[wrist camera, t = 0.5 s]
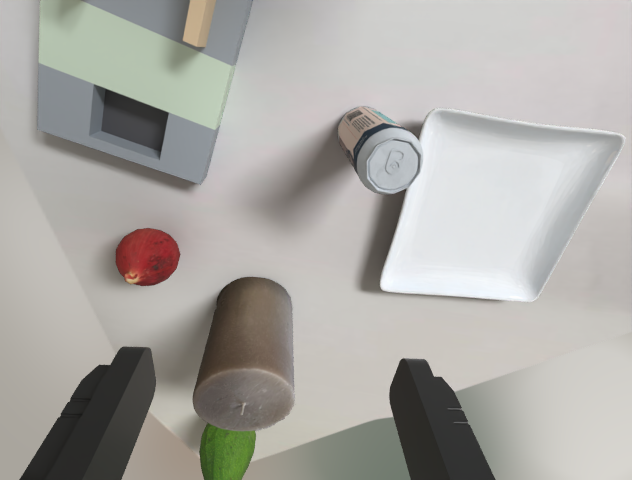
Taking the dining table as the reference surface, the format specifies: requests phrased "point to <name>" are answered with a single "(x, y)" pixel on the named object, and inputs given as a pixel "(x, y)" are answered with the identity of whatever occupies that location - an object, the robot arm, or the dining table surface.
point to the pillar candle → (248, 358)
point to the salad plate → (494, 205)
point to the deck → (140, 77)
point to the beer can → (380, 150)
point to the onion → (147, 257)
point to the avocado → (225, 453)
